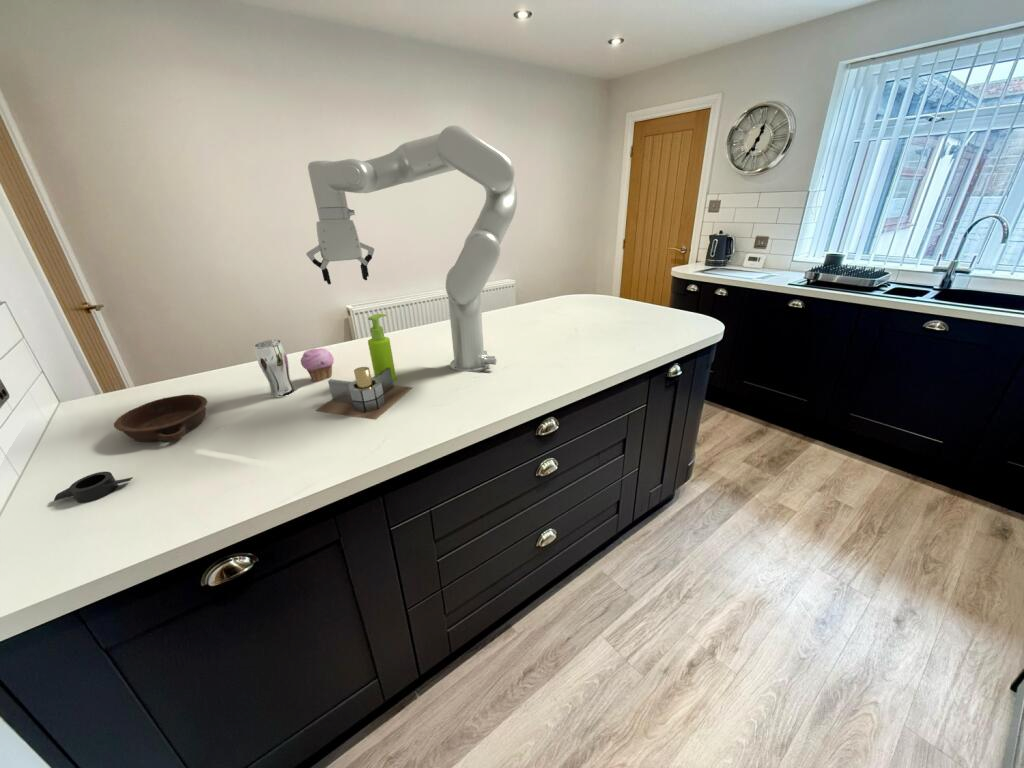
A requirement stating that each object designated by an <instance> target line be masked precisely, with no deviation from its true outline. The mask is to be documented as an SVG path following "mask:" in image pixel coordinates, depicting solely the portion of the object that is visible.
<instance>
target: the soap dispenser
mask: <svg viewBox="0 0 1024 768" xmlns="http://www.w3.org/2000/svg"><path fill="white" fill-rule="evenodd" d="M384 317H387V314H385V313H377V314H373V315H372V316H369V317H367V318H368V321H371V324H372V326H371V327H370V328H369V330H370V335H371V336H370V337H371V338H369V339H368V341H367V344H368V350H369V354H370V359H371V364H372V370H373V375H374V376H376V375H377V374H378V373H380V372H381V371H383V370H384V369H386V368H390V369H391V375H392V380H393V381H395V380H396V379H397V376H396V369H395V364H394V363H395V362H394V357H393V352H392V345H391V339H390V338H389V337H388V336H385V333H384V328H383V326H382V325H381V326H380V323H379V319H381V318H384Z"/></svg>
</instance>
